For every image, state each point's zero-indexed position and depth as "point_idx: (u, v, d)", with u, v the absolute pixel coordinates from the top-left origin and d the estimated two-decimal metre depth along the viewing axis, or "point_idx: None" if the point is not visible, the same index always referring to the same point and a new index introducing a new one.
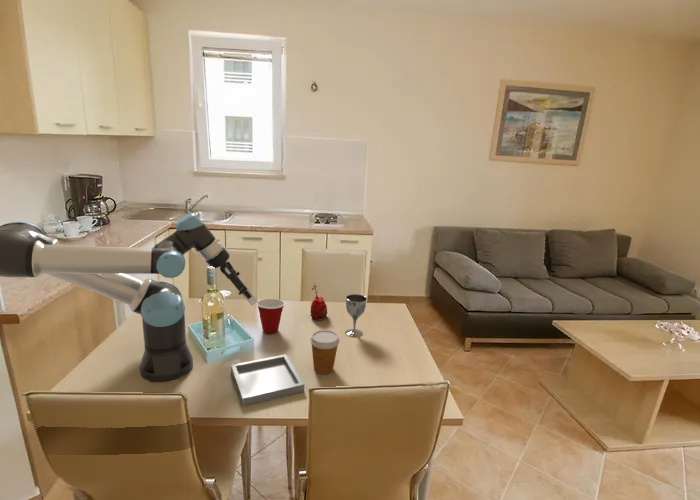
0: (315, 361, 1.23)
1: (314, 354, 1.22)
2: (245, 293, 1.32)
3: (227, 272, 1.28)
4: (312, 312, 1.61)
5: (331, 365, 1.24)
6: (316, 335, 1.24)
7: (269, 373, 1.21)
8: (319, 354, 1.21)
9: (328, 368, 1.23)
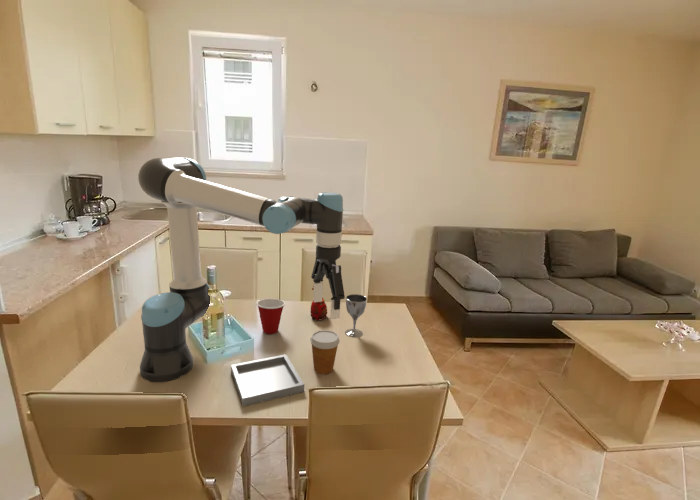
0: (315, 361, 1.23)
1: (314, 354, 1.22)
2: (337, 302, 1.13)
3: (336, 269, 1.11)
4: (312, 312, 1.61)
5: (331, 365, 1.24)
6: (316, 335, 1.24)
7: (269, 373, 1.21)
8: (319, 354, 1.21)
9: (328, 368, 1.23)
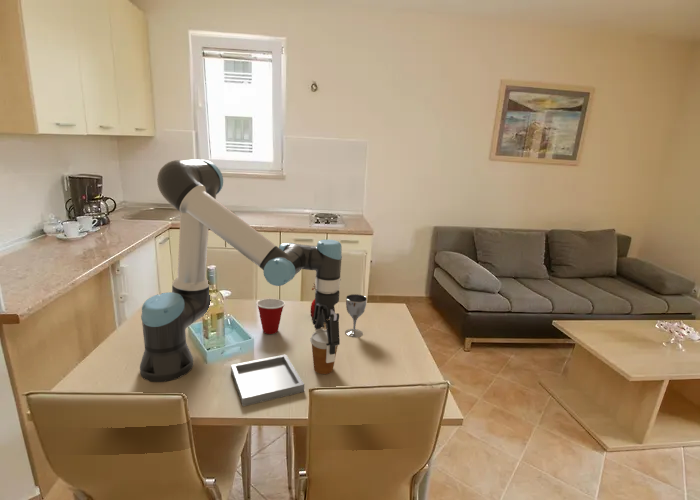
0: (315, 361, 1.23)
1: (314, 354, 1.22)
2: (332, 347, 1.18)
3: (334, 318, 1.15)
4: (312, 312, 1.61)
5: (331, 365, 1.24)
6: (316, 335, 1.24)
7: (269, 373, 1.21)
8: (319, 354, 1.21)
9: (328, 368, 1.23)
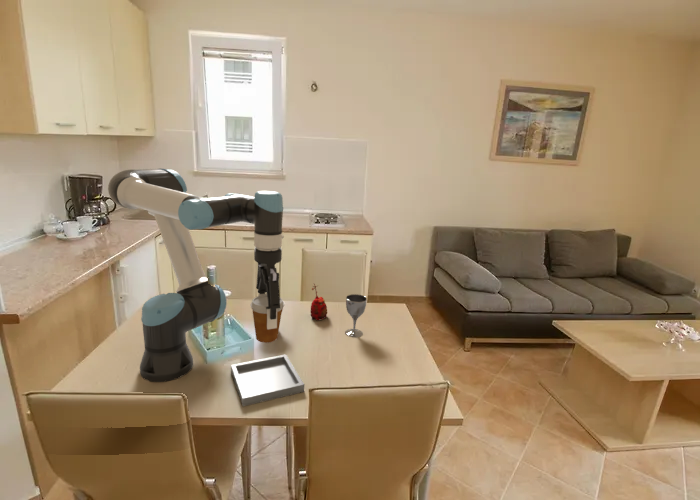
0: (256, 328, 1.11)
1: (255, 320, 1.10)
2: (273, 311, 1.06)
3: (273, 278, 1.03)
4: (312, 312, 1.61)
5: (274, 333, 1.12)
6: (258, 299, 1.12)
7: (269, 373, 1.21)
8: (259, 320, 1.09)
9: (270, 335, 1.11)
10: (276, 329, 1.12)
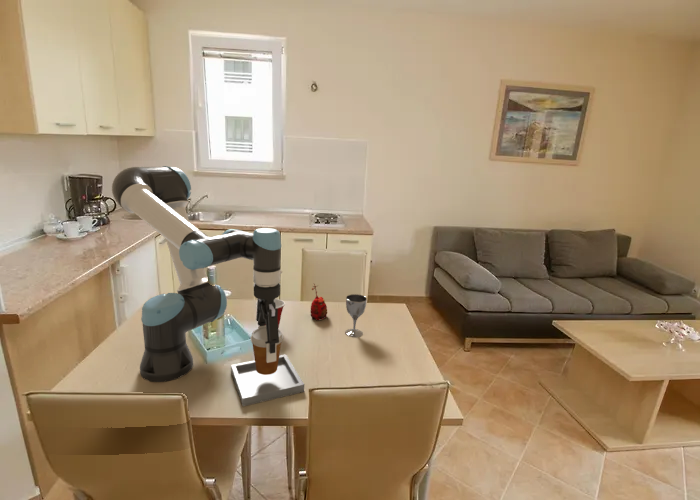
0: (256, 360, 1.13)
1: (254, 353, 1.13)
2: (272, 345, 1.08)
3: (272, 314, 1.05)
4: (312, 312, 1.61)
5: (274, 365, 1.14)
6: (258, 332, 1.15)
7: None
8: (259, 353, 1.11)
9: (270, 368, 1.14)
10: (276, 361, 1.14)
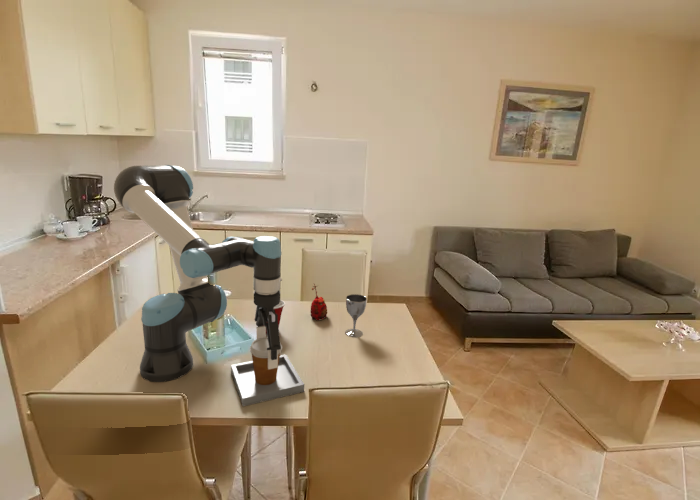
0: (255, 371, 1.14)
1: (254, 363, 1.14)
2: (273, 352, 1.07)
3: (272, 319, 1.06)
4: (312, 312, 1.61)
5: (272, 375, 1.15)
6: (257, 343, 1.15)
7: None
8: (258, 364, 1.12)
9: (269, 378, 1.14)
10: (274, 372, 1.15)
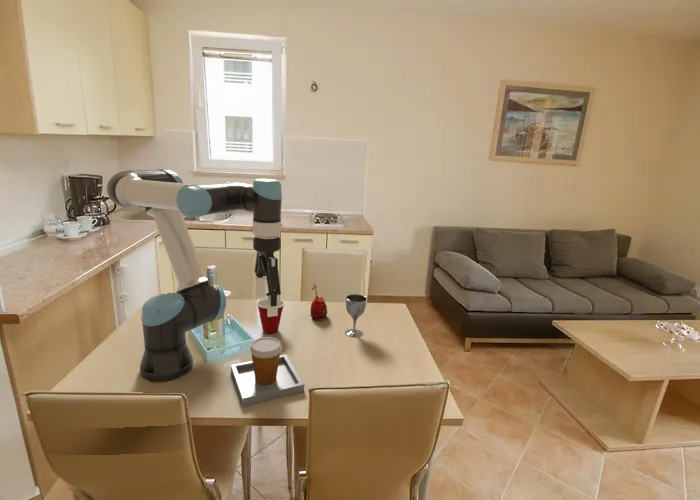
0: (255, 371, 1.14)
1: (254, 363, 1.14)
2: (273, 298, 1.03)
3: (272, 263, 1.02)
4: (312, 312, 1.61)
5: (272, 375, 1.15)
6: (257, 343, 1.15)
7: None
8: (258, 364, 1.12)
9: (269, 378, 1.14)
10: (274, 372, 1.15)
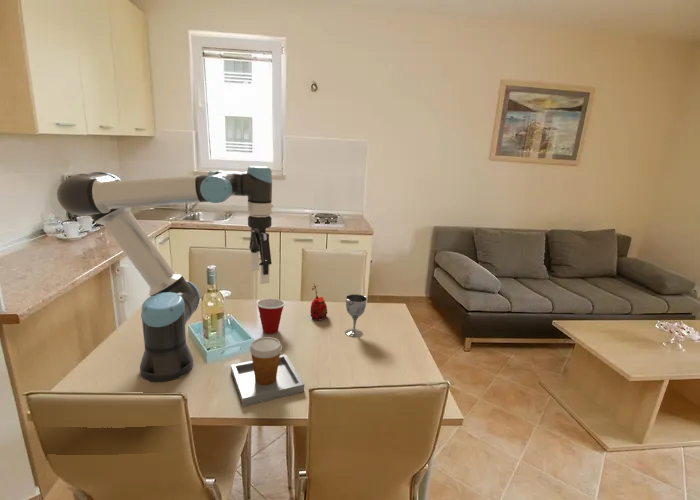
0: (255, 371, 1.14)
1: (253, 363, 1.14)
2: (265, 267, 1.22)
3: (264, 237, 1.20)
4: (312, 312, 1.61)
5: (272, 375, 1.15)
6: (257, 343, 1.15)
7: None
8: (258, 364, 1.12)
9: (269, 378, 1.14)
10: (274, 372, 1.15)
